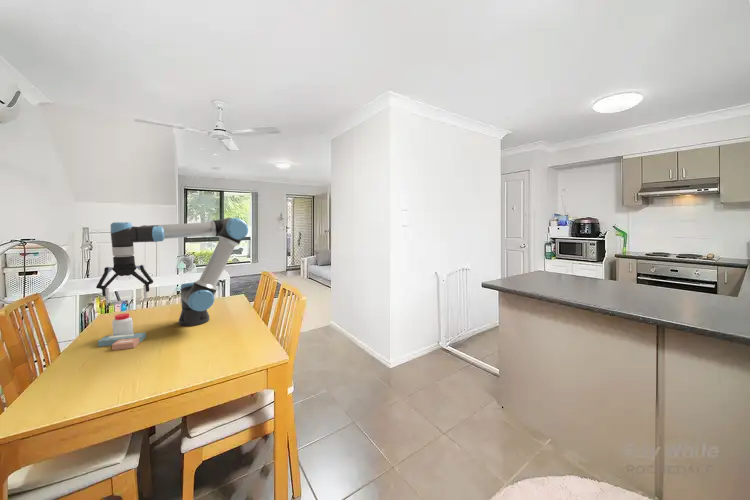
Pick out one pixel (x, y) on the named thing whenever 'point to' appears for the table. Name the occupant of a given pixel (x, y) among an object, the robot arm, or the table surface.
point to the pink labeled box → (125, 343)
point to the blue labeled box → (113, 338)
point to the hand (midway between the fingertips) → (127, 300)
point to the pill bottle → (122, 324)
